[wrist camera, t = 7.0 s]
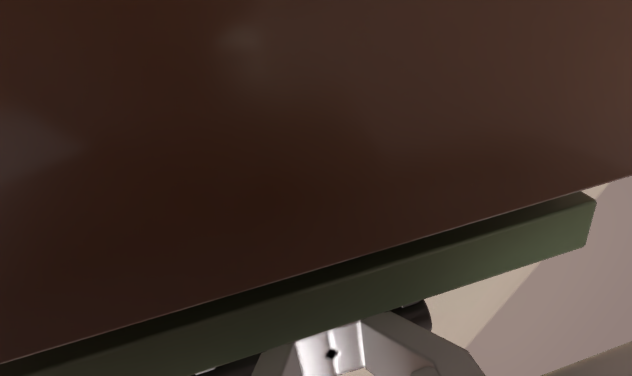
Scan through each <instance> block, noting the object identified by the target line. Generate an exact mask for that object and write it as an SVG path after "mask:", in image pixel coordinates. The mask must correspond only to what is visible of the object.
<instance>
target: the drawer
mask: <svg viewBox="0 0 632 376" xmlns="http://www.w3.org/2000/svg"><path fill="white" fill-rule="evenodd" d="M596 204H597V203H596V200H595V199H593V198H591V197H590V196H588V195H586V194H585V193H583V192H581V191H579V192H575V193H572V194H569V195H565V196H562V197H559V198H555V199H552V200H548V201H545V202H542V203H538V204H535V205H532V206H528V207H525V208H522V209H518V210H515V211H512V212H508V213H505V214H502V215H498V216H495V217H492V218H488V219H485V220H482V221H478V222H475V223H472V224H468V225H465V226H462V227H458V228H455V229H451V230H448V231H445V232H441V233H438V234H435V235H431V236H428V237H425V238H421V239H418V240H415V241H411V242H408V243H405V244H401V245H398V246H395V247H391V248H388V249H385V250H381V251H378V252H375V253H371V254H368V255H364V256H361V257H358V258H354V259H351V260H348V261H344V262H341V263H338V264H334V265H331V266H328V267H324V268H321V269H318V270H314V271H311V272H308V273H304V274H301V275H298V276H294V277H291V278H288V279H284V280H281V281H278V282H274V283H271V284H267V285H264V286H261V287H257V288H254V289H251V290H247V291H244V292H241V293H237V294H234V295H231V296H227V297H224V298H221V299H217V300H214V301H211V302H207V303H204V304H201V305H197V306H194V307H191V308H187V309H184V310H181V311H177V312H174V313H170V314H167V315H164V316H160V317H157V318H154V319H150V320H147V321H144V322H140V323H137V324H134V325H130V326H127V327H124V328H120V329H117V330H114V331H110V332H107V333H104V334H100V335H97V336H94V337H90V338H87V339H83V340H80V341H77V342H73V343H70V344H67V345H63V346H60V347H57V348H53V349H50V350H47V351H43V352H40V353H37V354H33V355H30V356H27V357H23V358H20V359H17V360H13V361H10V362H7V363H3V364H0V376H251V375H252V373H253V371H254V368H255V366H256V364H257V362H258V359H259V357H260V355H261V353H263V352H266V351H267V350H270V349H273V348H276V347H279V346H282V345H285V344H288V343H291V342H295V341H298V340H301V339H304V338H307V337H310V336H313V335H316V334H319V333H322V332H325V331H328V330H331V329H334V328H337V327H340V326H343V325H347V324H350V323H353V322H356V321H359V320H362V319H365V318H368V317H371V316H374V315H377V314H380V313H383V312H388V311H391V312H393V313H395V314H397V315H399V316H401V317H403V318H405V319H407V320H409V321H410V322H412V323H414V324H416V325H418V326H420V327H422V328H424V329H426V330H428V331H430V332H431V330H432V322H431V317H430V313H429V310H428V307H427V305H426V303H425V301H424V299H426V298H429V297H432V296H435V295H438V294H441V293H444V292H447V291H450V290H454V289H457V288H460V287H463V286H466V285H469V284H472V283H475V282H478V281H481V280H484V279H487V278H490V277H493V276H496V275H499V274H502V273H505V272H509V271H512V270H515V269H518V268H521V267H524V266H527V265H530V264H533V263H536V262H539V261H542V260H545V259H548V258H551V257H554V256H557V255H560V254H564V253H567V252H570V251H573V250H576V249H579V248H582V247H583V246H584V245H585V244H586V240H587V236H588V233H589V229H590V226H591V222H592V218H593V215H594V211H595V207H596Z"/></svg>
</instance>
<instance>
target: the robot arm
mask: <svg viewBox="0 0 632 376" xmlns="http://www.w3.org/2000/svg"><path fill="white" fill-rule="evenodd" d="M364 367H365V368H366V369H367V370H368V371H369V372H371V373H372V374H373V375H375V376H485V374H484V373H483V372H482V370H481V369H480V368H479V366H478V365H477V363H476V362H475V361H474V359H473V358H472V356H471V355H470V354H469V352H468V351H467V350H465V349H463V348H461V347H459V346H457V345H455V344H453V343H452V342H450V341H448V340H446V339H444V338H442V337H440V336H438V335H436V334H434V333H432V332H430V331H428V330H426V329H424V328H422V327H420V326H418V325H416V324H414V323H412V322H410V321H409V320H407V319H405V318H403V317H401V316H399V315H397V314H395V313H393V312H391V311H388V312H383V313H380V314H377V315H374V316H371V317H368V318H365V319H362V320H359V321H356V322H353V323H350V324H347V325H343V326H340V327H337V328H334V329H331V330H328V331H325V332H322V333H319V334H316V335H313V336H310V337H307V338H304V339H301V340H298V341H295V342H291V343H288V344H285V345H282V346H279V347H276V348H273V349H270V350H267V351H266V352H263V353H261V355H260V357H259V359H258V362H257V364H256V366H255V368H254V371H253V373H252V375H251V376H339V375H342V374H345V373H348V372H351V371H354V370H358V369H361V368H364ZM542 376H632V341H631V342H628V343H626V344H623V345H621V346H618V347H615V348H613V349H610V350H607V351H605V352H602V353H599V354H597V355H594V356H591V357H589V358H586V359H584V360H581V361H578V362H576V363H574V364H571V365H568V366H565V367H563V368H560V369H557V370H555V371H552V372H549V373H547V374H544V375H542Z"/></svg>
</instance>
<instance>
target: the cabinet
mask: <svg viewBox="0 0 632 376" xmlns="http://www.w3.org/2000/svg"><path fill="white" fill-rule="evenodd" d="M629 176H632V0H0V364H3V363H7V362H10V361H13V360H17V359H20V358H23V357H27V356H30V355H33V354H37V353H40V352H43V351H47V350H50V349H53V348H57V347H60V346H63V345H67V344H70V343H73V342H77V341H80V340H83V339H87V338H90V337H94V336H97V335H100V334H104V333H107V332H110V331H114V330H117V329H120V328H124V327H127V326H130V325H134V324H137V323H140V322H144V321H147V320H150V319H154V318H157V317H160V316H164V315H167V314H170V313H174V312H177V311H181V310H184V309H187V308H191V307H194V306H197V305H201V304H204V303H207V302H211V301H214V300H217V299H221V298H224V297H227V296H231V295H234V294H237V293H241V292H244V291H247V290H251V289H254V288H257V287H261V286H264V285H267V284H271V283H274V282H278V281H281V280H284V279H288V278H291V277H294V276H298V275H301V274H304V273H308V272H311V271H314V270H318V269H321V268H324V267H328V266H331V265H334V264H338V263H341V262H344V261H348V260H351V259H354V258H358V257H361V256H364V255H368V254H371V253H375V252H378V251H381V250H385V249H388V248H391V247H395V246H398V245H401V244H405V243H408V242H411V241H415V240H418V239H421V238H425V237H428V236H431V235H435V234H438V233H441V232H445V231H448V230H451V229H455V228H458V227H462V226H465V225H468V224H472V223H475V222H478V221H482V220H485V219H488V218H492V217H495V216H498V215H502V214H505V213H508V212H512V211H515V210H518V209H522V208H525V207H528V206H532V205H535V204H538V203H542V202H545V201H548V200H552V199H555V198H559V197H562V196H565V195H569V194H572V193H575V192H579V191H582V190H585V189H589V188H592V187H595V186H599V185H602V184H605V183H609V182H612V181H615V180H619V179H622V178H625V177H629Z"/></svg>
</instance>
